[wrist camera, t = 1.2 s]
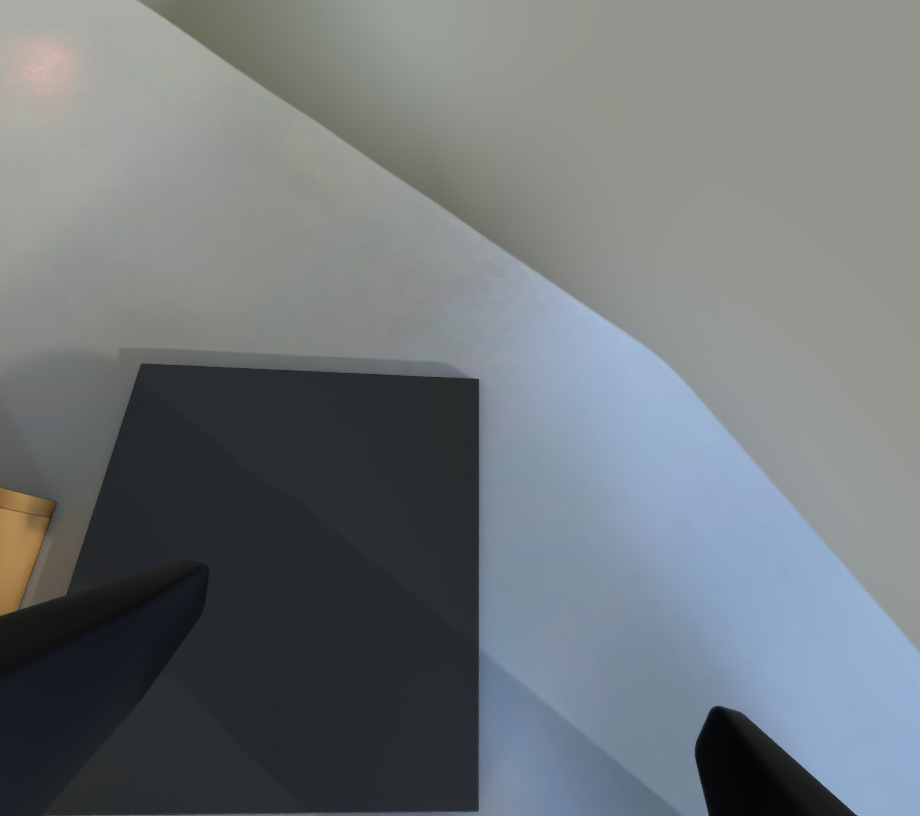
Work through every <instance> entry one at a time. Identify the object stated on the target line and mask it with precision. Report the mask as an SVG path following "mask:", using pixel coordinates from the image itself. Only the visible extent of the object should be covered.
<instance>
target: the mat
mask: <svg viewBox="0 0 920 816" xmlns="http://www.w3.org/2000/svg"><path fill="white" fill-rule="evenodd" d="M185 559H187V560H192V561H196V562H199V563H203V564H206V565H207V566H208V568H209V579H208V587H207V594H206V601H205V607H204V610H203V612H202V615H201V616H200V618H199V620H198V621H197V623H196V624H195V626H194V627H193V628H192V630H191V631H190V633H189V634H188V635H187V637H186V638H185V640H184V641H183V642H182V644H181V645H180V647H179V648H178V649H177V651H176V652H175V654H174V655H173V656H172V658H171V659H170V661H169V662H168V663H167V665H166V666H165V668H164V669H163V670H162V672H161V673H160V675H159V676H158V677H157V679H156V680H155V682H154V683H153V685H152V686H151V687H150V689H149V690H148V691H147V693H146V694H145V695H144V697H143V698H142V699H141V701H140V702H139V703H138V705H137V706H136V707H135V708H134V710H133V711H132V712H131V713H130V714H129V716H128V717H127V718H126V719H125V721H124V722H123V723H122V724H121V725H120V726H119V728H118V729H117V730H116V731H115V732H114V733H113V735H112V736H111V737H110V738H109V739H108V740H107V742H106V743H105V744H104V745H103V746H102V747H101V749H100V750H99V751H98V752H97V753H96V754H95V756H94V757H93V758H92V759H91V760H90V761H89V763H88V764H87V765H86V766H85V767H84V769H83V770H82V771H81V772H80V773H79V774H78V776H77V777H76V778H75V779H74V780H73V781H72V783H71V784H70V785H69V786H68V787H67V788H66V790H65V791H64V792H63V793H62V794H61V795H60V797H59V798H58V799H57V800H56V801H55V802H54V804H53V805H52V806H51V807H50V808H49V809H48V811H47V812H46V813H45V814H44V815H43V816H89V815H194V814H299V813H405V812H478V810H479V379H465V378H444V377H422V376H400V375H378V374H356V373H334V372H313V371H291V370H269V369H247V368H225V367H203V366H182V365H160V364H141V366H140V369H139V372H138V375H137V378H136V382H135V385H134V388H133V391H132V394H131V397H130V400H129V403H128V406H127V409H126V412H125V416H124V419H123V422H122V425H121V428H120V431H119V434H118V437H117V440H116V443H115V447H114V450H113V453H112V456H111V459H110V462H109V465H108V468H107V471H106V474H105V477H104V481H103V484H102V487H101V490H100V493H99V496H98V499H97V502H96V505H95V508H94V512H93V515H92V518H91V521H90V524H89V527H88V530H87V533H86V536H85V539H84V542H83V546H82V549H81V552H80V555H79V558H78V561H77V564H76V567H75V570H74V573H73V577H72V580H71V583H70V586H69V589H68V592H67V595H70V594H73V593H76V592H79V591H83V590H86V589H89V588H93V587H96V586H99V585H102V584H106V583H109V582H112V581H115V580H119V579H122V578H125V577H128V576H132V575H135V574H138V573H141V572H145V571H148V570H151V569H154V568H158V567H161V566H164V565H167V564H171V563H174V562H177V561H180V560H185Z"/></svg>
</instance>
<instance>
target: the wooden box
mask: <svg viewBox="0 0 920 816" xmlns="http://www.w3.org/2000/svg"><path fill="white" fill-rule="evenodd" d="M55 504H56V502H55V501H51V500H47V499H43V498H39V497H36V496H32V495H28V494H24V493H20V492H16V491H12V490H8V489H4V488H1V487H0V616H1V615H4V614H8V613H11V612H14V611H18V608H19V605H20V602H21V599H22V597H23V594H24V591H25V588H26V585H27V583H28V580H29V577H30V574H31V571H32V569H33V566H34V563H35V560H36V557H37V555H38V552H39V549H40V546H41V543H42V541H43V538H44V535H45V532H46V529H47V527H48V524H49V521H50V517H51V516H52V513H53V510H54V507H55Z"/></svg>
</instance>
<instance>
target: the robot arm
mask: <svg viewBox="0 0 920 816" xmlns="http://www.w3.org/2000/svg"><path fill="white" fill-rule="evenodd" d="M208 579H209V568H208V566H207V565H206V564H203V563H199V562H196V561H192V560H187V559H185V560H180V561H177V562H174V563H171V564H167V565H164V566H161V567H158V568H154V569H151V570H148V571H145V572H141V573H138V574H135V575H132V576H128V577H125V578H122V579H119V580H115V581H112V582H109V583H106V584H102V585H99V586H96V587H93V588H89V589H86V590H83V591H79V592H76V593H73V594H70V595H66V596H63V597H60V598H57V599H53V600H50V601H47V602H44V603H40V604H37V605H34V606H31V607H27V608H24V609H21V610H18V611H14V612H11V613H8V614H4V615H1V616H0V816H43V815H44V814H45V813H46V812H47V811H48V809H49V808H50V807H51V806H52V805H53V804H54V802H55V801H56V800H57V799H58V798H59V797H60V795H61V794H62V793H63V792H64V791H65V790H66V788H67V787H68V786H69V785H70V784H71V783H72V781H73V780H74V779H75V778H76V777H77V776H78V774H79V773H80V772H81V771H82V770H83V769H84V767H85V766H86V765H87V764H88V763H89V761H90V760H91V759H92V758H93V757H94V756H95V754H96V753H97V752H98V751H99V750H100V749H101V747H102V746H103V745H104V744H105V743H106V742H107V740H108V739H109V738H110V737H111V736H112V735H113V733H114V732H115V731H116V730H117V729H118V728H119V726H120V725H121V724H122V723H123V722H124V721H125V719H126V718H127V717H128V716H129V714H130V713H131V712H132V711H133V710H134V708H135V707H136V706H137V705H138V703H139V702H140V701H141V699H142V698H143V697H144V695H145V694H146V693H147V691H148V690H149V689H150V687H151V686H152V685H153V683H154V682H155V680H156V679H157V677H158V676H159V675H160V673H161V672H162V670H163V669H164V668H165V666H166V665H167V663H168V662H169V661H170V659H171V658H172V656H173V655H174V654H175V652H176V651H177V649H178V648H179V647H180V645H181V644H182V642H183V641H184V640H185V638H186V637H187V635H188V634H189V633H190V631H191V630H192V628H193V627H194V626H195V624H196V623H197V621H198V620H199V618H200V616H201V615H202V612H203V610H204V607H205V601H206V594H207V587H208ZM695 758H696V763H697V768H698V772H699V776H700V780H701V784H702V789H703V793H704V797H705V801H706V805H707V810H708V814H709V816H857V815H856V814H855V813H854V812H852V811H851V810H850V809H849V808H848V807H847V806H846V805H845V804H843V803H842V802H841V801H840V800H839V799H838V798H837V797H836V796H834V795H833V794H832V793H831V792H830V791H829V790H828V789H827V788H826V787H824V786H823V785H822V784H821V783H820V782H819V781H818V780H817V779H815V778H814V777H813V776H812V775H811V774H810V773H809V772H808V771H807V770H805V769H804V768H803V767H802V766H801V765H800V764H799V763H798V762H796V761H795V760H794V759H793V758H792V757H791V756H790V755H789V754H787V753H786V752H785V751H784V750H783V749H782V748H781V747H780V746H779V745H777V744H776V743H775V742H774V741H773V740H772V739H771V738H770V737H768V736H767V735H766V734H765V733H764V732H763V731H762V730H761V729H759V728H758V727H757V726H756V725H755V724H754V723H753V722H752V721H751V720H749V719H748V718H747V717H746V716H745V715H744V714H742V713H741V712H739V711H736V710H732V709H729V708H725V707H722V706H715V707H713V708H712V709H711V710H710V712H709V714H708V716H707V718H706V721H705V723H704V725H703V727H702V730H701V732H700V734H699V736H698V739H697V741H696V745H695Z"/></svg>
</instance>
